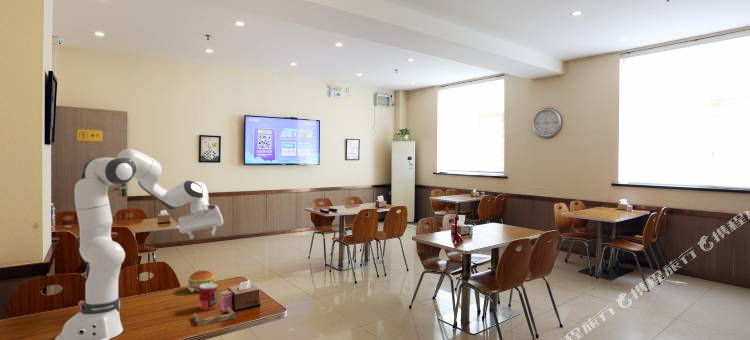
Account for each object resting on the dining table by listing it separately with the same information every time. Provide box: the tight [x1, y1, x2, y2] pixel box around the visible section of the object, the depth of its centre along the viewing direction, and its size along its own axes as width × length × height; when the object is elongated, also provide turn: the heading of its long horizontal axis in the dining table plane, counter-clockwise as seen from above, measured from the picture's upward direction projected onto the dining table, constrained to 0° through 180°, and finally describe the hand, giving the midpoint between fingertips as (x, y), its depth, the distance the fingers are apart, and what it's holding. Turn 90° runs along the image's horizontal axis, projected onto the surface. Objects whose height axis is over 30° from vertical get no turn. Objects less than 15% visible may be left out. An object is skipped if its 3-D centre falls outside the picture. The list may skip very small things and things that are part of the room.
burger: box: [187, 270, 216, 293], centre depth 220 cm, size 13×14×10 cm
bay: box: [192, 306, 236, 327], centre depth 184 cm, size 16×10×2 cm, turn 123°
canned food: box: [198, 282, 218, 312], centre depth 196 cm, size 8×8×11 cm
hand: (202, 236), depth 198 cm, fingers open, 8 cm apart
